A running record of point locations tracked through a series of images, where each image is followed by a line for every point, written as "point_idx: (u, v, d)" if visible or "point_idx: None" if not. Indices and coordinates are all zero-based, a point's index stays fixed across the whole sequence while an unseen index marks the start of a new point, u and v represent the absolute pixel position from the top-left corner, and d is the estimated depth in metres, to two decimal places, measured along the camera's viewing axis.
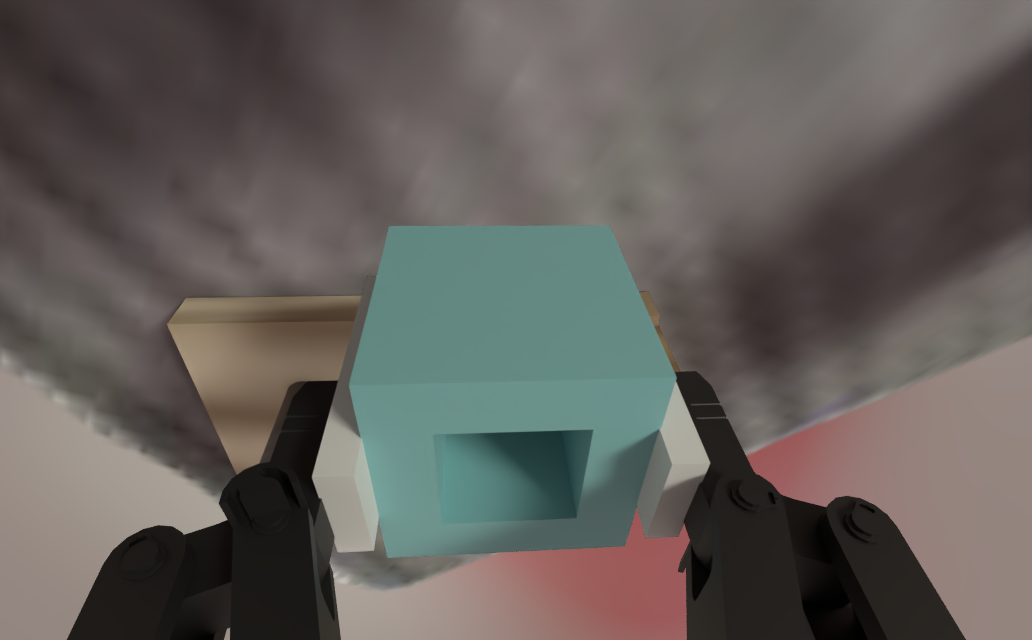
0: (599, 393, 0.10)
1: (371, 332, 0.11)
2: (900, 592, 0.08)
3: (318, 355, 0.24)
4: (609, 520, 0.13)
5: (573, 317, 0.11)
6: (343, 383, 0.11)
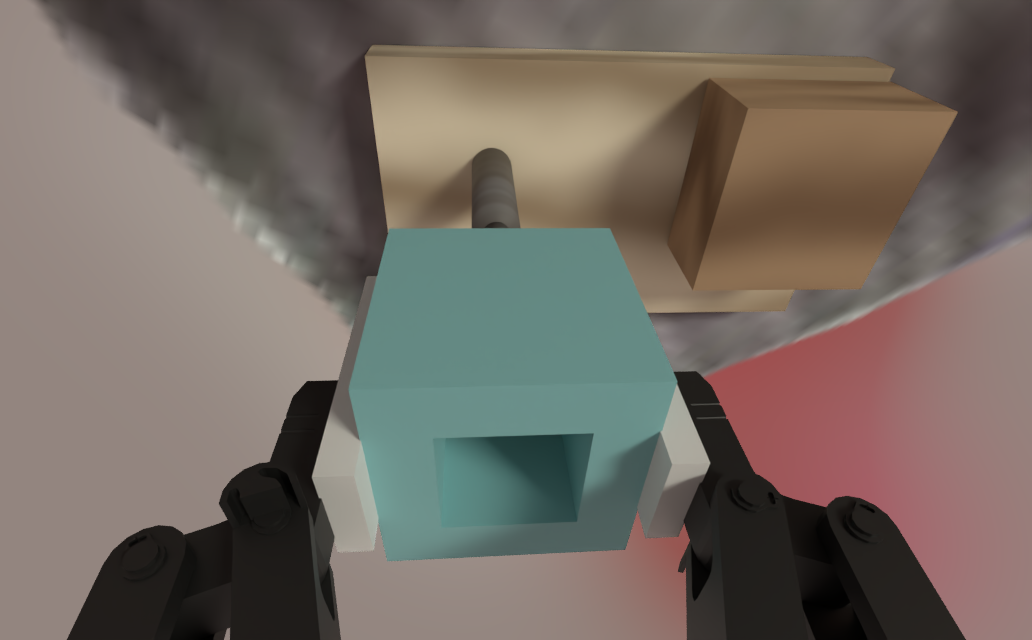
0: (600, 396, 0.10)
1: (371, 335, 0.10)
2: (900, 592, 0.08)
3: (517, 110, 0.22)
4: (609, 523, 0.13)
5: (573, 320, 0.11)
6: (343, 383, 0.11)
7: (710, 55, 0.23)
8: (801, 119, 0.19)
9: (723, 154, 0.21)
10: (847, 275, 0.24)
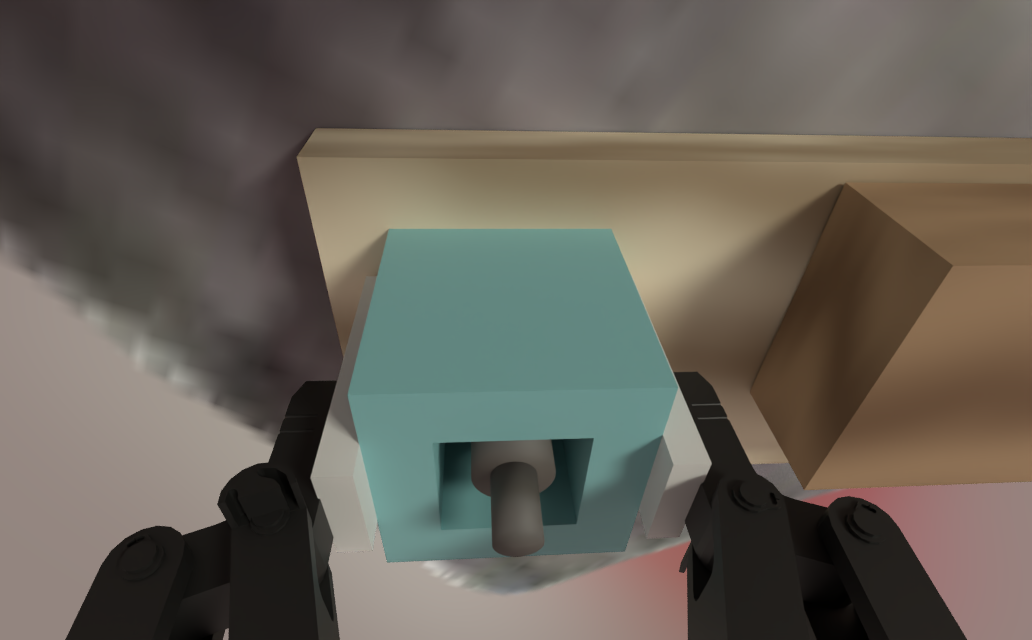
0: (600, 402, 0.10)
1: (370, 339, 0.10)
2: (901, 592, 0.08)
3: None
4: (609, 526, 0.13)
5: (574, 324, 0.11)
6: (342, 383, 0.11)
7: (838, 141, 0.15)
8: None
9: (881, 317, 0.13)
10: None
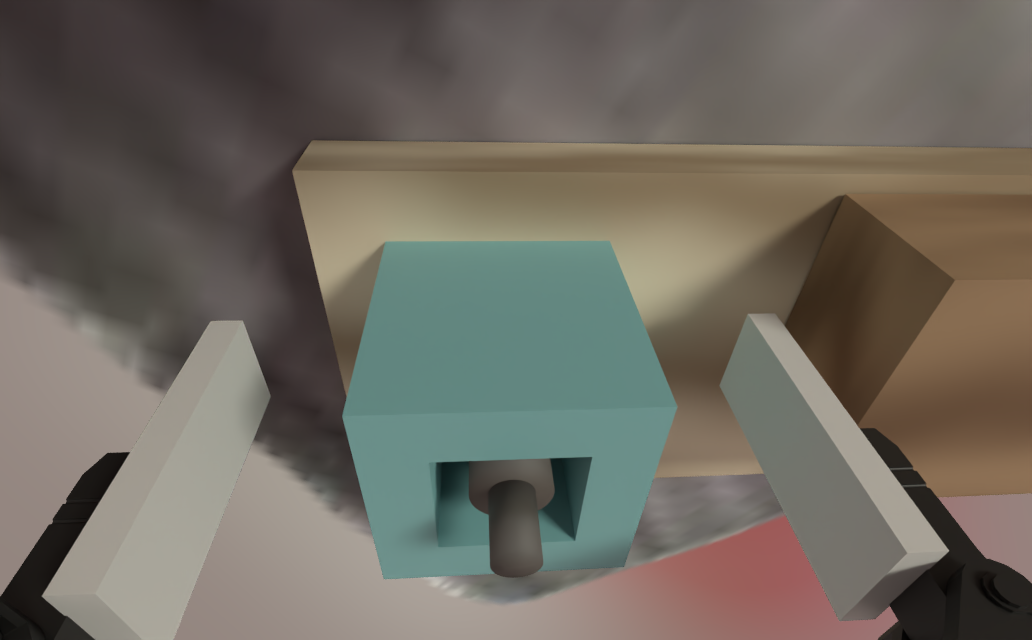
0: (599, 421, 0.10)
1: (366, 357, 0.10)
2: None
3: None
4: (608, 542, 0.13)
5: (572, 341, 0.11)
6: (130, 462, 0.10)
7: (838, 151, 0.15)
8: None
9: (882, 330, 0.13)
10: None
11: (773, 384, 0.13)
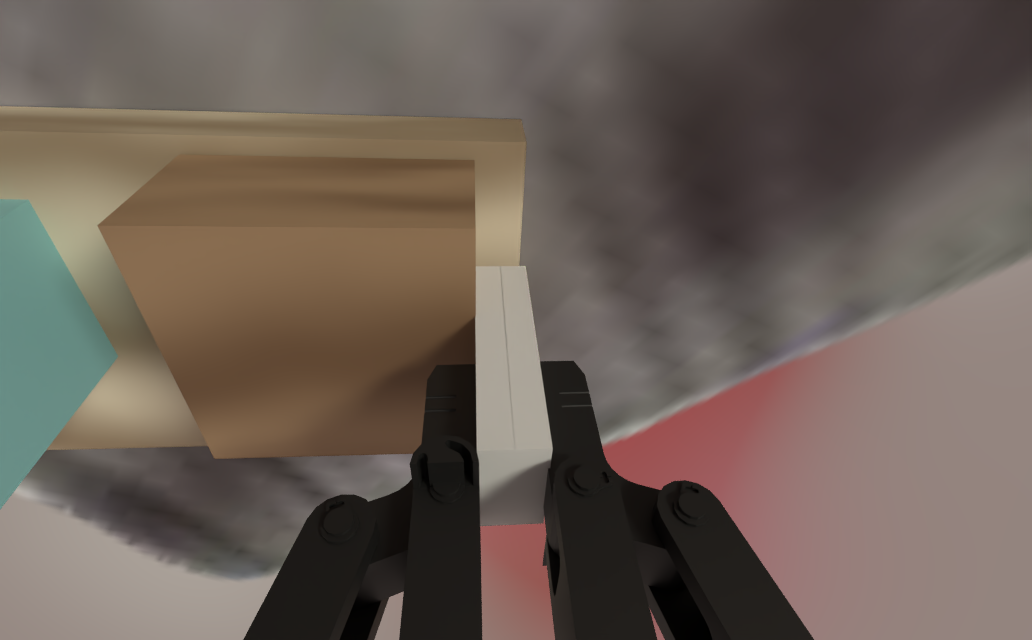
0: None
1: None
2: (728, 570, 0.09)
3: None
4: None
5: None
6: (481, 365, 0.12)
7: (267, 117, 0.15)
8: (208, 241, 0.12)
9: None
10: None
11: None
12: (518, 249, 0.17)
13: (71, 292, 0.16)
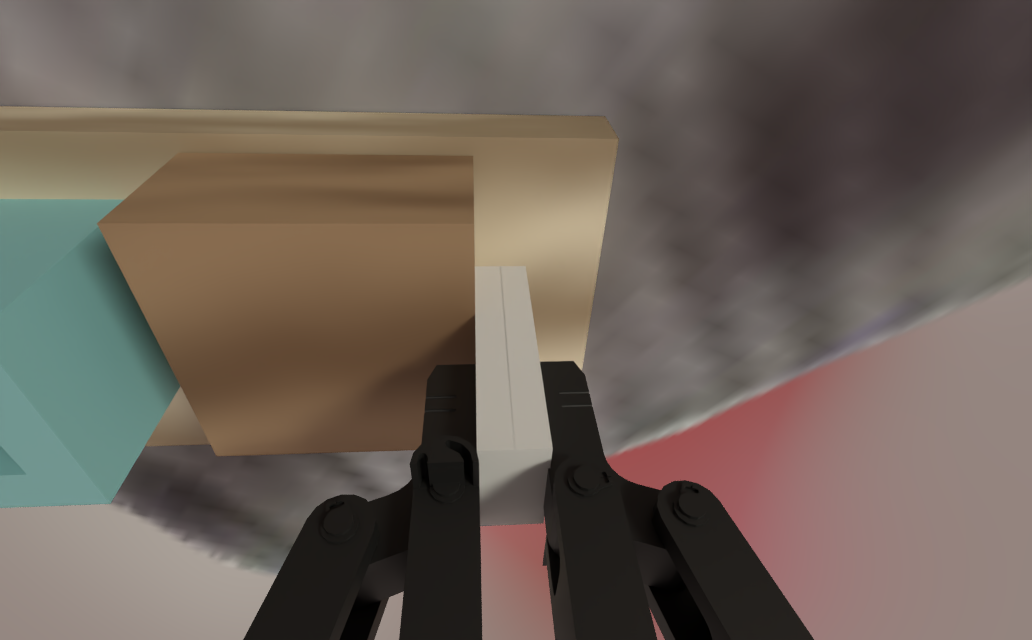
0: None
1: None
2: (728, 570, 0.09)
3: None
4: (64, 477, 0.13)
5: None
6: (481, 365, 0.12)
7: (360, 117, 0.16)
8: (207, 238, 0.12)
9: None
10: None
11: None
12: (600, 245, 0.17)
13: None
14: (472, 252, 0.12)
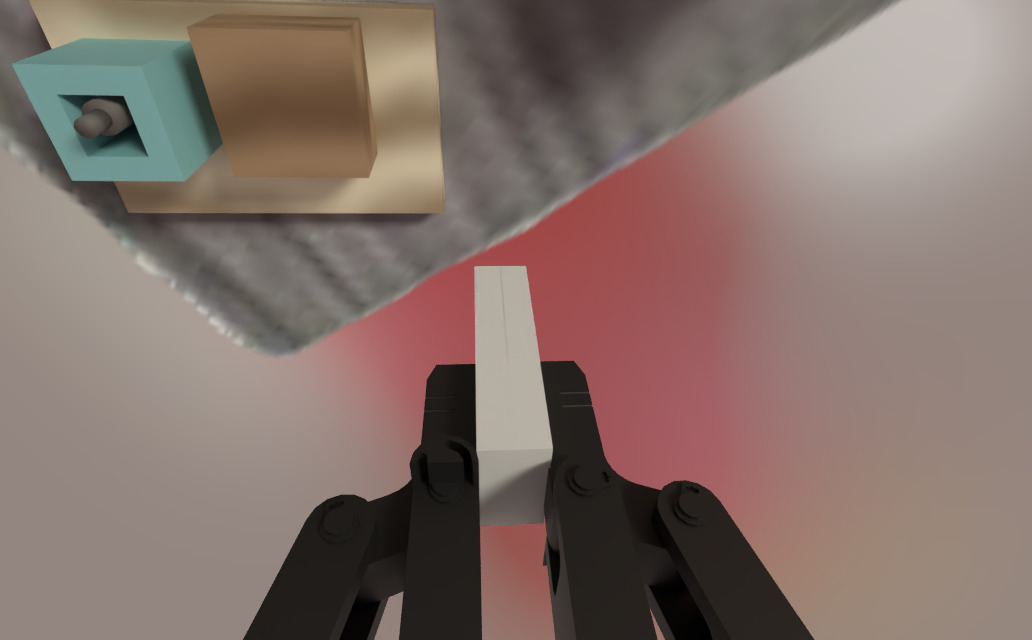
0: (114, 74, 0.26)
1: (35, 56, 0.27)
2: (728, 569, 0.09)
3: None
4: (165, 159, 0.29)
5: (125, 56, 0.27)
6: (481, 365, 0.12)
7: (306, 1, 0.31)
8: (232, 36, 0.27)
9: None
10: (350, 165, 0.32)
11: None
12: (435, 74, 0.33)
13: (206, 95, 0.32)
14: (348, 47, 0.28)
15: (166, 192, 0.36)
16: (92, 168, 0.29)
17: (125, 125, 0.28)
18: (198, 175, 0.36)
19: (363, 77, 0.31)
